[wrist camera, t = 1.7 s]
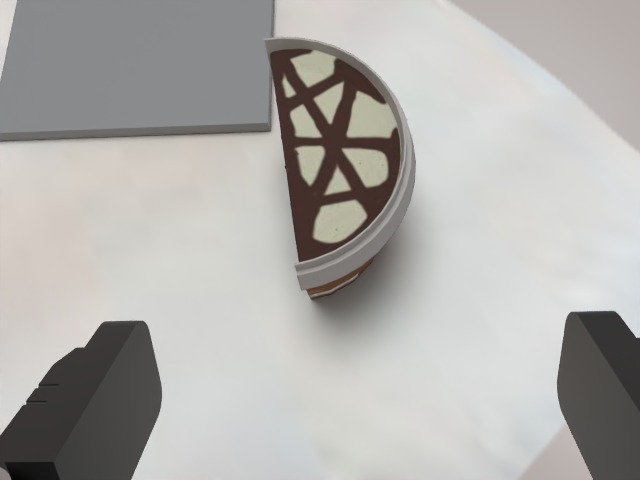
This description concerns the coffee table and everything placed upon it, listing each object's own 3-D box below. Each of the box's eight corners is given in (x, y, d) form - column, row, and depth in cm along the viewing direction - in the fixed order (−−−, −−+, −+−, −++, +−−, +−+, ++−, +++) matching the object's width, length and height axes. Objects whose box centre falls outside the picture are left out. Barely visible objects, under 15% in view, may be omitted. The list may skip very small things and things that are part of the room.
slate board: (-2, 141, 38) (-11, 133, 37) (41, -70, 44) (34, -81, 43) (270, 130, 37) (268, 122, 36) (276, -84, 43) (274, -95, 42)
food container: (422, 308, 32) (448, 254, 23) (314, 325, 32) (296, 278, 23) (382, 119, 37) (391, 8, 27) (287, 134, 37) (262, 29, 27)
